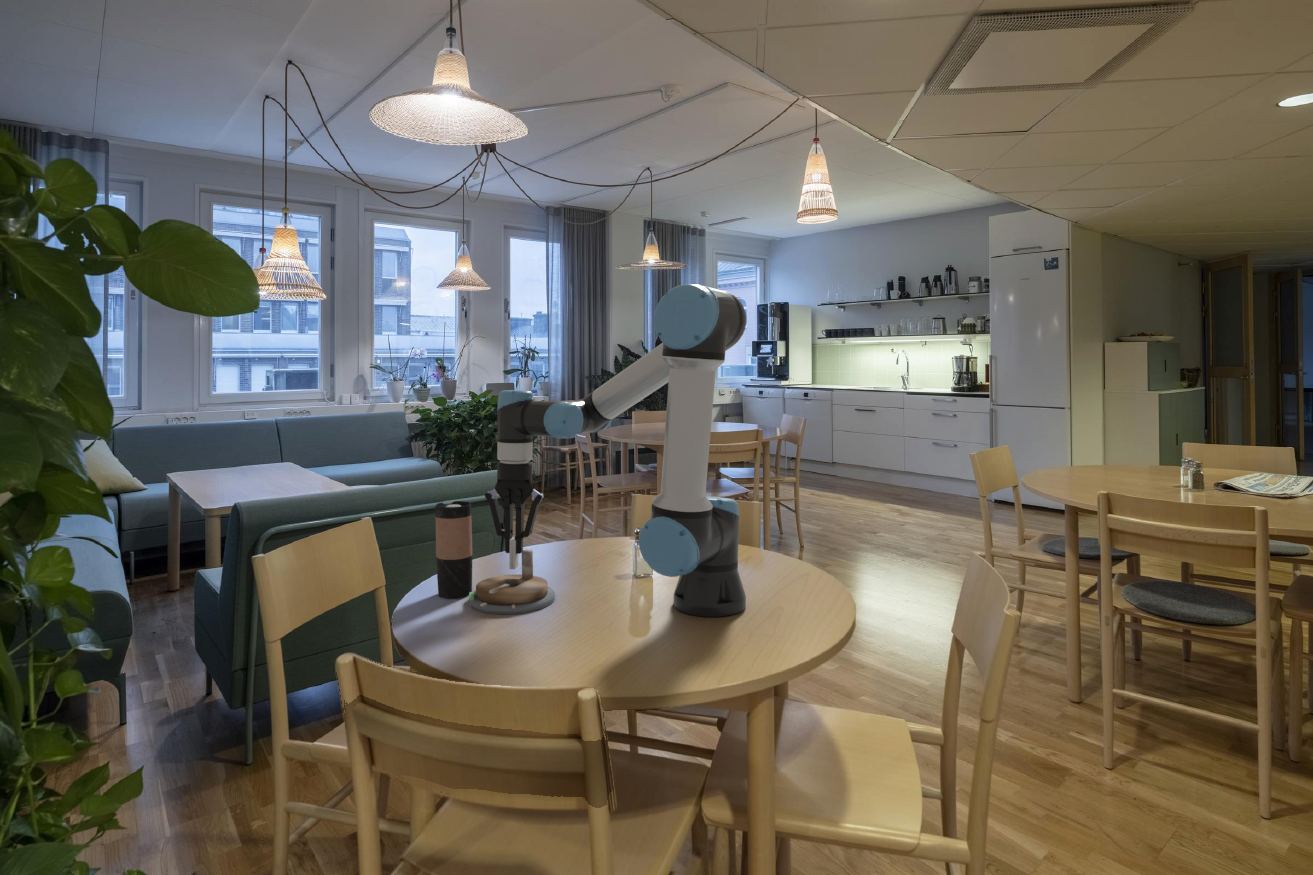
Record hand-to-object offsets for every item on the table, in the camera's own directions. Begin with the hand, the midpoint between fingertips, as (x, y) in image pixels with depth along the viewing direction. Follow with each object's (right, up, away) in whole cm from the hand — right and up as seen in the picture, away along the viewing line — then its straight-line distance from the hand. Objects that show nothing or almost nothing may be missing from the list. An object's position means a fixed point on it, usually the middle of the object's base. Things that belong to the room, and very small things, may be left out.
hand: (513, 567), depth 162 cm
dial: (+1, -5, -5) cm, 7 cm away
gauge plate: (+1, -6, -5) cm, 8 cm away
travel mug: (-13, -6, 0) cm, 14 cm away
